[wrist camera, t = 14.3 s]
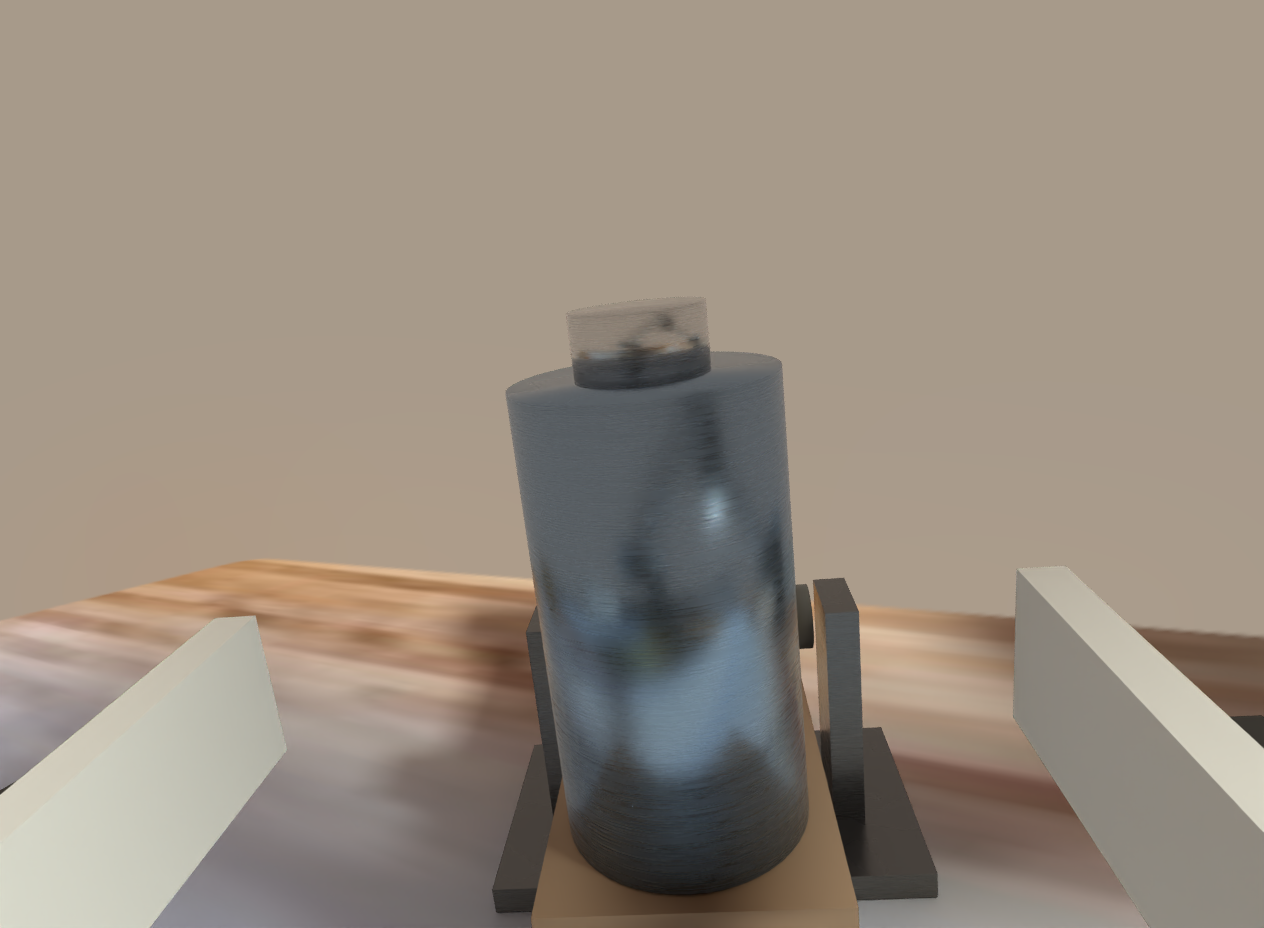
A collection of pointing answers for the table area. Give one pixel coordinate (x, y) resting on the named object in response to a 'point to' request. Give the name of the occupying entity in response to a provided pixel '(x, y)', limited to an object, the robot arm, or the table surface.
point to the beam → (724, 920)
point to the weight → (666, 596)
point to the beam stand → (851, 756)
